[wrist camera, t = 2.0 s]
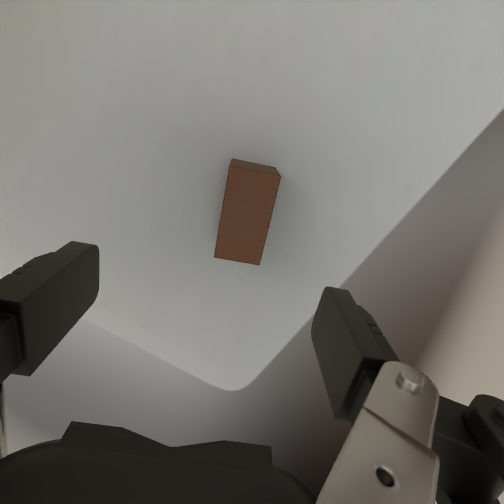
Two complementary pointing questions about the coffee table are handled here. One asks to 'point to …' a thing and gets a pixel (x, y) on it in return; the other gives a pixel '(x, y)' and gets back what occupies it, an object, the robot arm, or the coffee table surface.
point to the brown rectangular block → (246, 211)
